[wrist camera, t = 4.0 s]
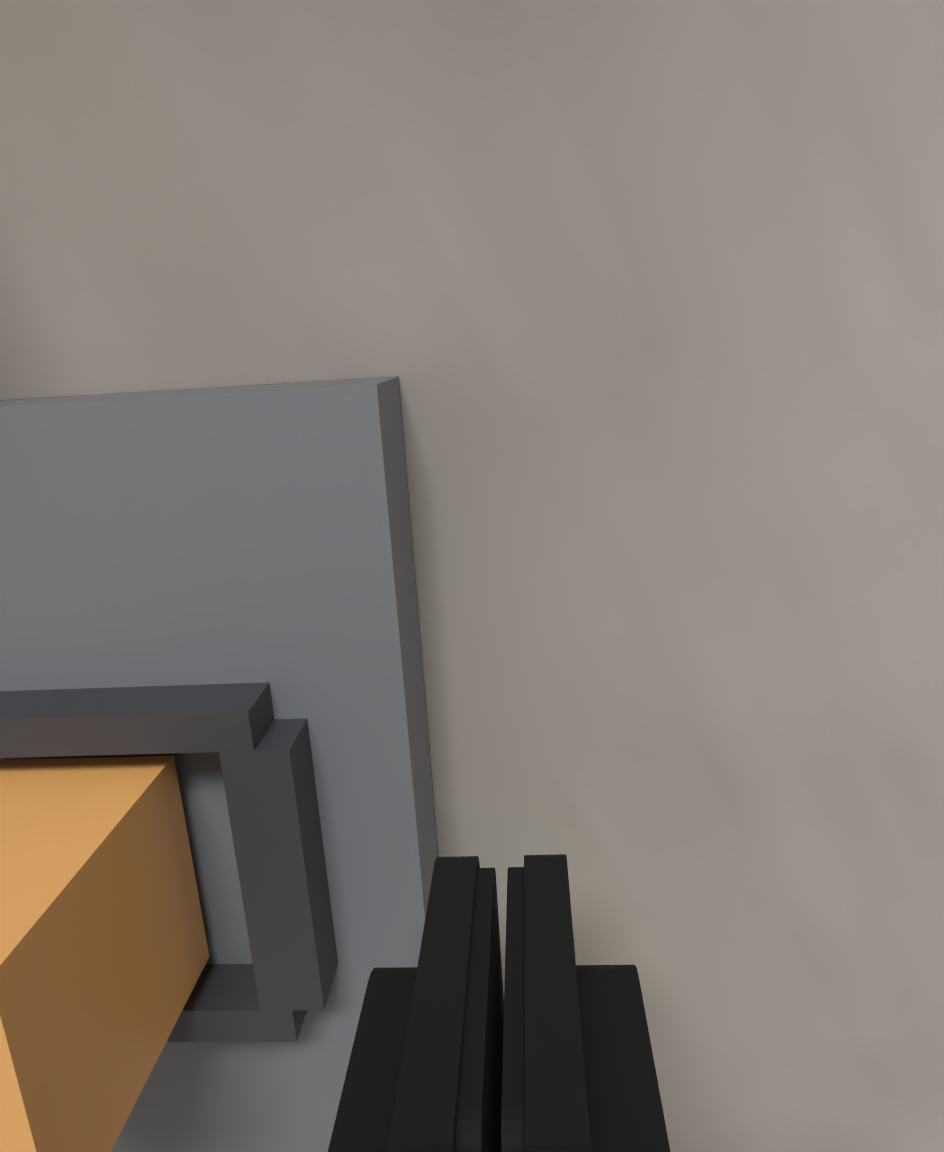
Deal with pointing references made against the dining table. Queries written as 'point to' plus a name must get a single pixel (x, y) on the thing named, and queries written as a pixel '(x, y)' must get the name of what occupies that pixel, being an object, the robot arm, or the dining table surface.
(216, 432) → the fader panel
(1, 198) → the dining table surface
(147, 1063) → the fader knob
